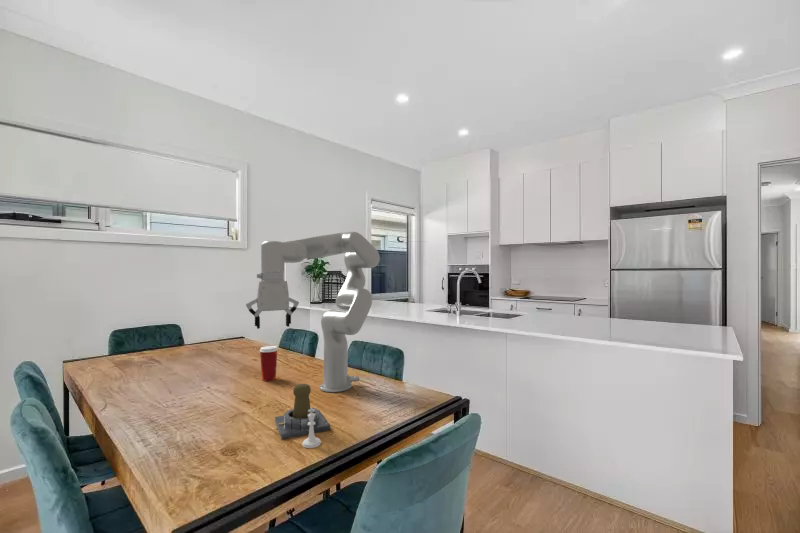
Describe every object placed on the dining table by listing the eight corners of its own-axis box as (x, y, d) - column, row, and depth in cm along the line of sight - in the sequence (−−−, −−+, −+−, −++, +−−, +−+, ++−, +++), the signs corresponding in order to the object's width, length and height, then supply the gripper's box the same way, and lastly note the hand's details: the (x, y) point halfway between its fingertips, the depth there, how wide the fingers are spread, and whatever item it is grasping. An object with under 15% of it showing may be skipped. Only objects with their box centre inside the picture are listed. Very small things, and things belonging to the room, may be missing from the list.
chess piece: (303, 440, 107) (303, 404, 107) (321, 439, 108) (321, 404, 108) (300, 448, 102) (300, 411, 102) (319, 447, 103) (319, 410, 103)
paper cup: (281, 378, 168) (281, 346, 169) (267, 383, 162) (267, 349, 162) (270, 376, 173) (270, 344, 173) (255, 380, 166) (255, 348, 166)
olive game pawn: (288, 423, 115) (288, 387, 115) (297, 416, 121) (297, 381, 121) (306, 425, 114) (306, 388, 114) (315, 417, 120) (315, 382, 120)
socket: (318, 414, 127) (318, 402, 127) (330, 430, 114) (330, 417, 114) (274, 421, 121) (274, 409, 121) (281, 439, 108) (281, 425, 108)
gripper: (246, 277, 124) (246, 330, 124) (300, 277, 132) (300, 326, 131) (245, 277, 131) (245, 327, 131) (296, 276, 138) (296, 324, 138)
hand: (273, 327), depth 131 cm, fingers open, 9 cm apart
